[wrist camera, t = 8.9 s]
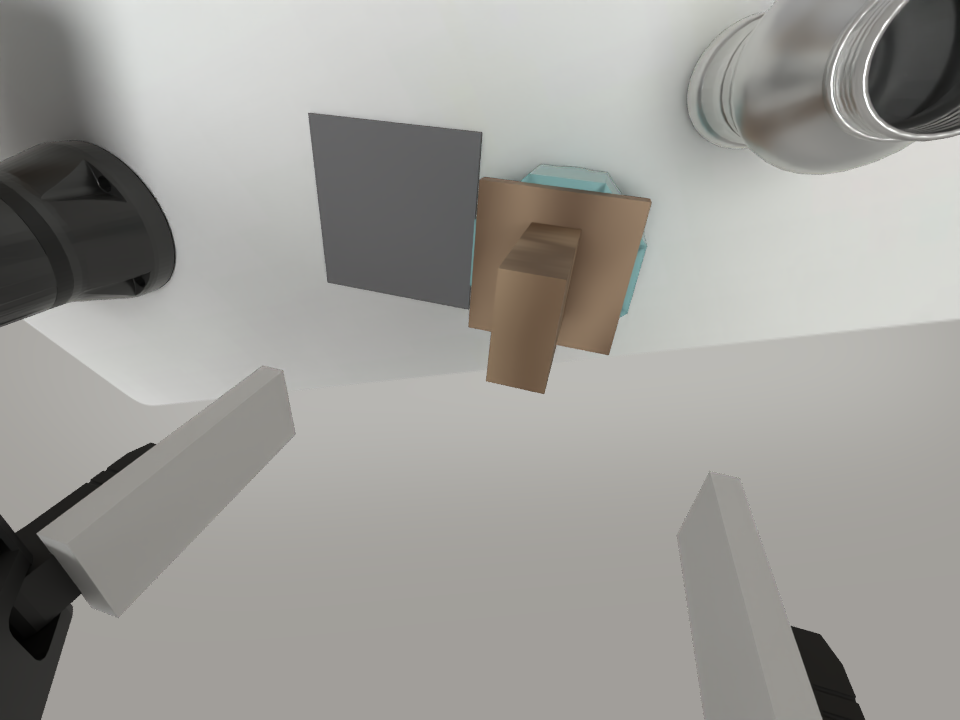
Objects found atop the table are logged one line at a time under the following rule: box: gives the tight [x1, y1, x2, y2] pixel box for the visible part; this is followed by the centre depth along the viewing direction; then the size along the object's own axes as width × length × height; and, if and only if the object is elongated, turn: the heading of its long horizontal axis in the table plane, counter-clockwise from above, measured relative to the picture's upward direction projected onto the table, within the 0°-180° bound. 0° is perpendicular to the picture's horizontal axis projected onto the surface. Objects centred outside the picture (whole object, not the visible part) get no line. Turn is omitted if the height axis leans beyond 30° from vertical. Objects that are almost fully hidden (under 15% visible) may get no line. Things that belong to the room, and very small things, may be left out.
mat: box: [308, 113, 482, 309], centre depth 36 cm, size 14×14×1 cm
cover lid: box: [468, 177, 652, 394], centre depth 24 cm, size 10×10×10 cm
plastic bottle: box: [687, 0, 960, 175], centre depth 18 cm, size 6×7×20 cm
